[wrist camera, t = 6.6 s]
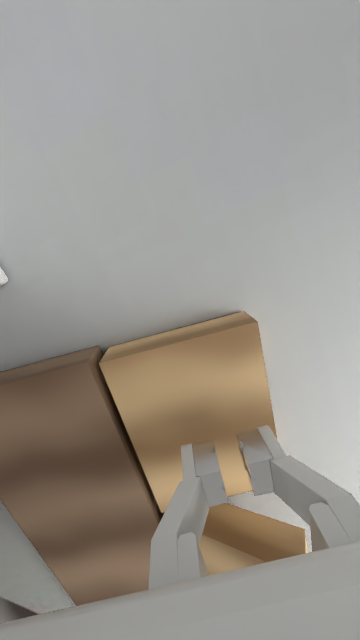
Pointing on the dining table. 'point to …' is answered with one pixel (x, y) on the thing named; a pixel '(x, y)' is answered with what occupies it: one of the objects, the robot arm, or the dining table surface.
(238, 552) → the plank
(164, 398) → the plank
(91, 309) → the dining table surface
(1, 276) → the milk carton
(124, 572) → the base board
